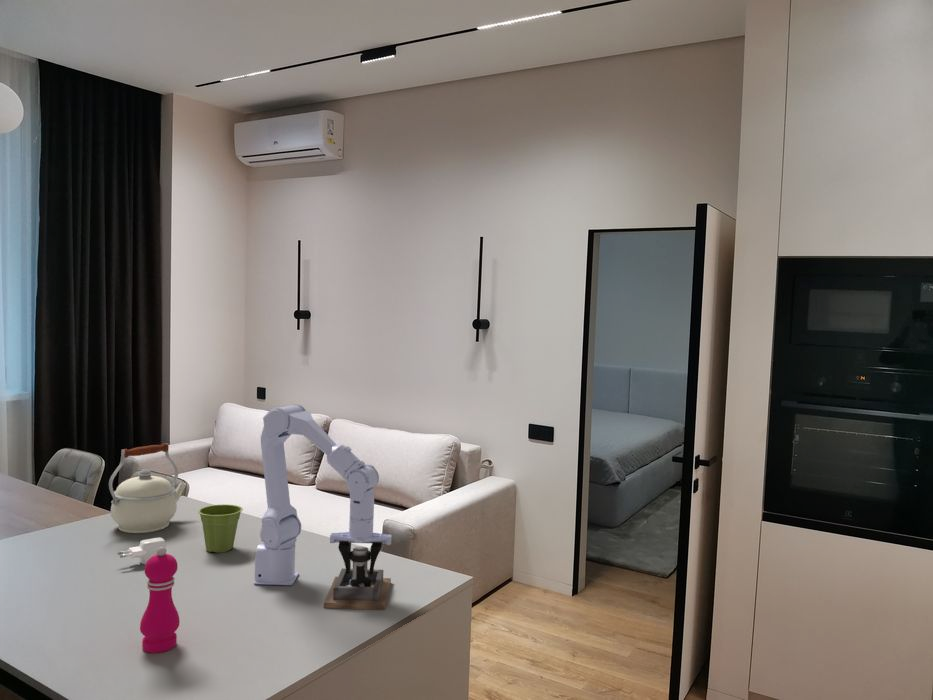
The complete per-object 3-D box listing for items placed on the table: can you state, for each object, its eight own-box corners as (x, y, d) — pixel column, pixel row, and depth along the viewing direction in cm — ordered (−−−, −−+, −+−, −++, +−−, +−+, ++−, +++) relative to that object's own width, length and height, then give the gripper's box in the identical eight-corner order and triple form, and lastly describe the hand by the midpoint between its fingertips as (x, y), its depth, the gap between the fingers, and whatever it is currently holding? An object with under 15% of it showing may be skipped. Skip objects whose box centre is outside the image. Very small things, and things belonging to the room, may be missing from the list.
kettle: (126, 541, 197) (128, 455, 196) (92, 528, 207) (93, 446, 206) (202, 522, 218) (204, 444, 217) (167, 511, 228) (169, 436, 227)
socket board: (323, 607, 158) (324, 590, 158) (335, 581, 174) (335, 565, 174) (384, 609, 158) (385, 592, 158) (390, 582, 174) (391, 567, 174)
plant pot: (250, 547, 196) (251, 508, 195) (215, 559, 186) (216, 518, 185) (223, 539, 202) (224, 501, 202) (188, 549, 192) (189, 510, 192)
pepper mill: (147, 637, 141) (149, 540, 140) (184, 637, 141) (186, 541, 140) (133, 654, 133) (135, 553, 132) (172, 654, 134) (174, 553, 133)
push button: (348, 596, 162) (349, 554, 161) (339, 589, 166) (340, 548, 166) (374, 591, 165) (375, 550, 165) (364, 584, 170) (365, 544, 169)
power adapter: (120, 570, 175) (121, 548, 175) (116, 565, 179) (116, 542, 179) (166, 562, 182) (167, 540, 182) (161, 556, 186) (161, 535, 186)
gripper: (328, 520, 161) (326, 577, 162) (390, 522, 162) (388, 579, 162) (333, 512, 168) (331, 567, 169) (392, 514, 169) (390, 568, 169)
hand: (359, 572), depth 166 cm, fingers closed on push button, 5 cm apart
